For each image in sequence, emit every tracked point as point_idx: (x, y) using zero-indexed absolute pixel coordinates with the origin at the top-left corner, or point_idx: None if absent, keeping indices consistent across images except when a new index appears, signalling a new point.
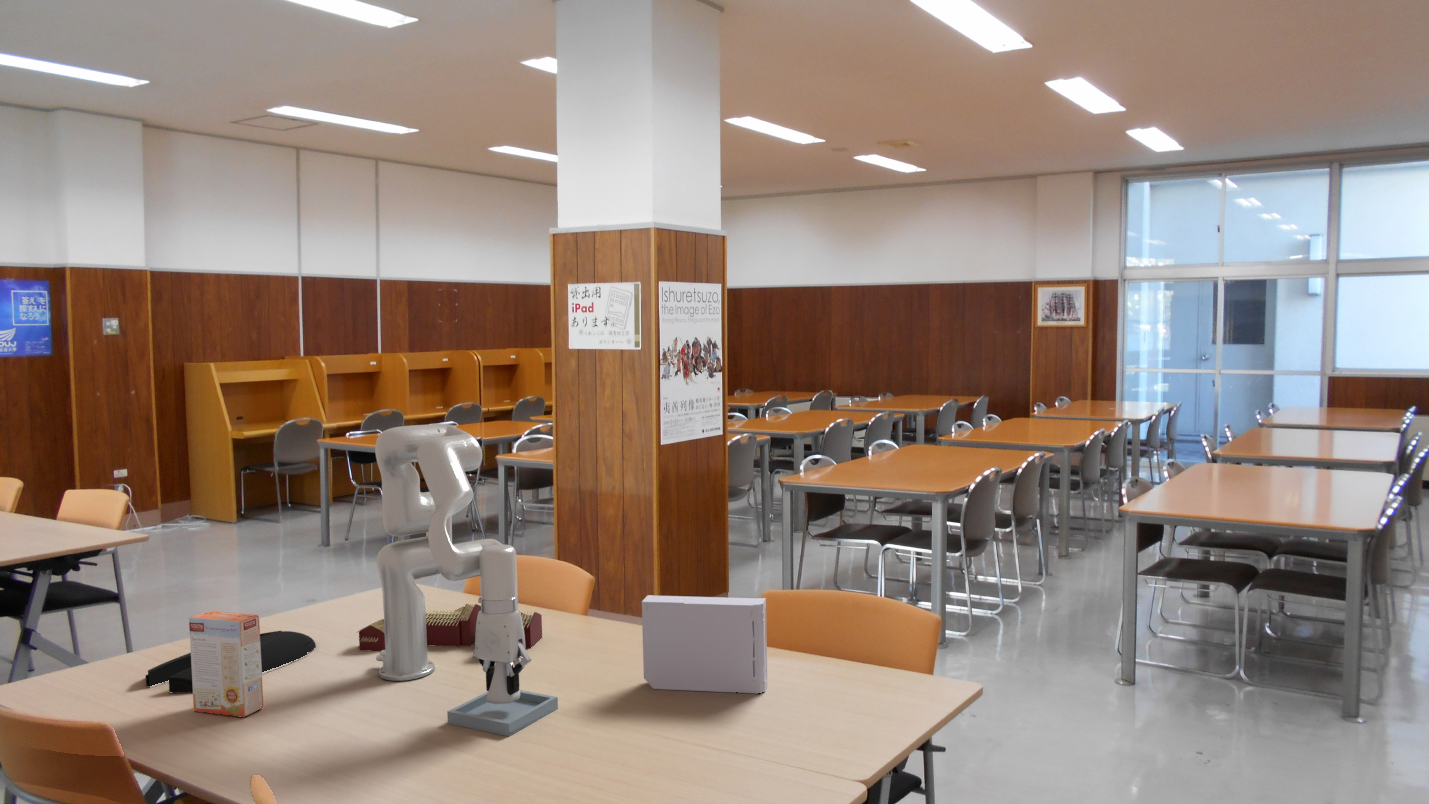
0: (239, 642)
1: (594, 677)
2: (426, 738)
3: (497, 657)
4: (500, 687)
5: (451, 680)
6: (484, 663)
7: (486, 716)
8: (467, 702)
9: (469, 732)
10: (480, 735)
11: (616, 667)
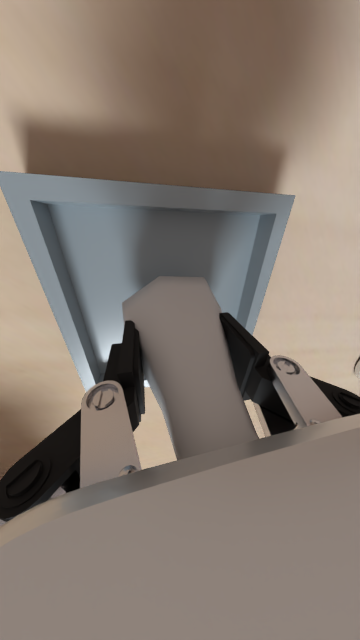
0: None
1: (145, 449)
2: (288, 17)
3: (219, 568)
4: (162, 321)
5: (324, 362)
6: (315, 391)
7: (189, 266)
8: (264, 282)
9: (176, 159)
10: (124, 148)
11: (143, 469)
